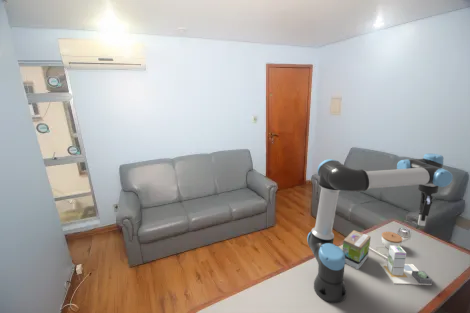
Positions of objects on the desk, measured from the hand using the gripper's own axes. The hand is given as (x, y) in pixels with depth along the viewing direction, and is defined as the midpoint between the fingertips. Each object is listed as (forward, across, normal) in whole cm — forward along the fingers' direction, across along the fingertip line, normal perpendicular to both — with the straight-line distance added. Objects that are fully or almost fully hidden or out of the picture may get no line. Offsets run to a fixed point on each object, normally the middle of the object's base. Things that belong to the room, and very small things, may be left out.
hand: (421, 224), depth 118 cm
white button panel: (+26, -9, +5) cm, 29 cm away
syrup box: (+26, -11, +10) cm, 30 cm away
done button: (+26, -10, -2) cm, 28 cm away
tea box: (+27, -9, +29) cm, 40 cm away
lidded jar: (+27, +14, +10) cm, 32 cm away
